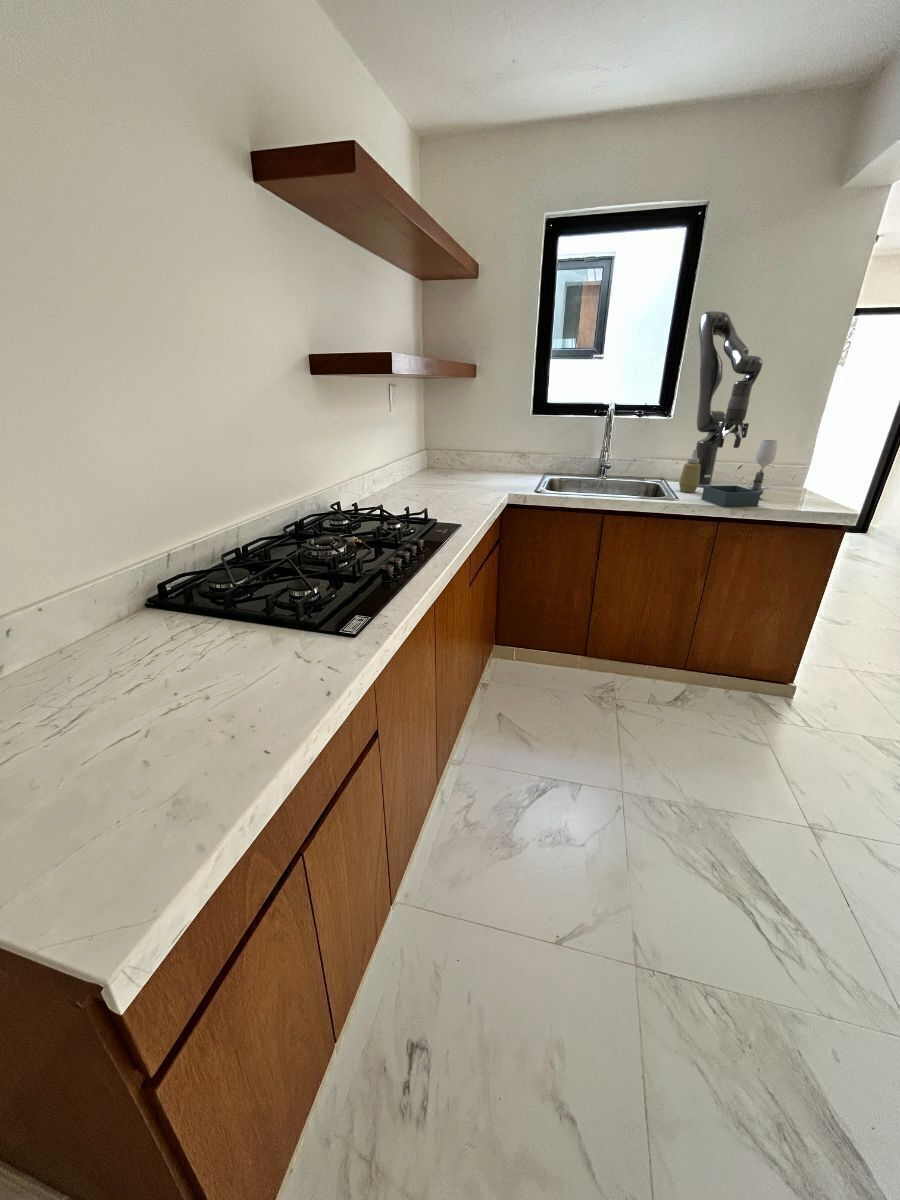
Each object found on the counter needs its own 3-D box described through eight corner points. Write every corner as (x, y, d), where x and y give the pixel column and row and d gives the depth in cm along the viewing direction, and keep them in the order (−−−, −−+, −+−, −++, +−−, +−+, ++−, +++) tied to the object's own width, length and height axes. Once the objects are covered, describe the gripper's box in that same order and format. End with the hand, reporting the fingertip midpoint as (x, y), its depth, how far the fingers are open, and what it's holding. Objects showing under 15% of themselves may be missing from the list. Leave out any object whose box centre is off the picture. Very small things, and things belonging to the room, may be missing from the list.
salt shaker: (758, 497, 211) (765, 468, 207) (764, 500, 206) (772, 470, 201) (743, 497, 212) (750, 468, 207) (749, 499, 207) (756, 470, 202)
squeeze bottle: (677, 492, 221) (685, 450, 214) (677, 489, 228) (684, 448, 221) (697, 493, 218) (706, 451, 211) (696, 490, 225) (705, 449, 218)
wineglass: (767, 486, 235) (779, 440, 227) (767, 489, 229) (779, 441, 221) (749, 485, 239) (760, 439, 231) (748, 487, 233) (759, 440, 225)
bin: (701, 499, 207) (704, 485, 205) (733, 498, 209) (736, 485, 207) (723, 507, 193) (726, 492, 191) (757, 506, 195) (761, 492, 193)
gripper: (744, 408, 216) (734, 447, 222) (717, 406, 212) (707, 446, 218) (758, 408, 209) (747, 449, 215) (730, 407, 206) (720, 448, 211)
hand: (727, 447), depth 217 cm, fingers open, 8 cm apart
